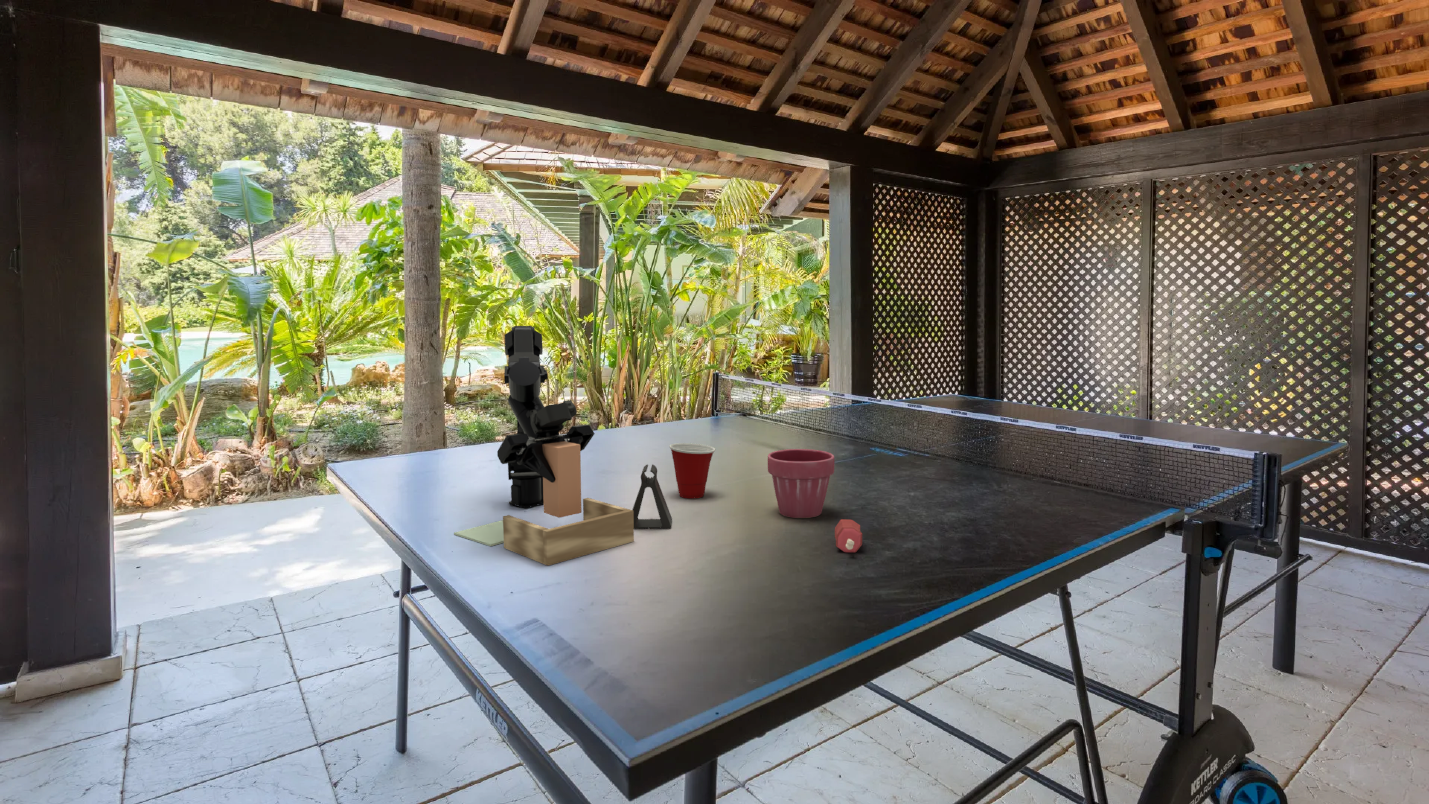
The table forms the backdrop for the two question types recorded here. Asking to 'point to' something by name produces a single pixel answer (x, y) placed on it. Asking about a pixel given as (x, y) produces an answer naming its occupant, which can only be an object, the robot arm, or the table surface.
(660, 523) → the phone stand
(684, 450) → the plastic cup
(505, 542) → the u-shaped frame
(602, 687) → the table surface
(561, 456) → the block
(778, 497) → the plant pot
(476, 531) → the mat
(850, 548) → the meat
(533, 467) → the robot arm
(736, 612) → the table surface
